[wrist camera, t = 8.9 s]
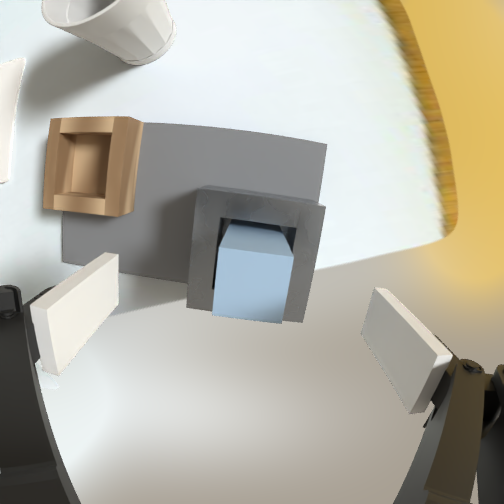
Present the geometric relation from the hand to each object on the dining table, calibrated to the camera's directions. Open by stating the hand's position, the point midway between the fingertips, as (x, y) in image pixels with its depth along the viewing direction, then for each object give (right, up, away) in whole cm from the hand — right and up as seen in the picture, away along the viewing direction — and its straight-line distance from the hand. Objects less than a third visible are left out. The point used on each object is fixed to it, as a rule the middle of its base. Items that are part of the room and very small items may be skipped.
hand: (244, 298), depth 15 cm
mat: (-6, +7, +12) cm, 15 cm away
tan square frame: (-14, +10, +10) cm, 20 cm away
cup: (-10, +23, +8) cm, 26 cm away
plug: (0, +3, +12) cm, 12 cm away
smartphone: (-30, +18, +10) cm, 36 cm away
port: (0, +3, +12) cm, 13 cm away
